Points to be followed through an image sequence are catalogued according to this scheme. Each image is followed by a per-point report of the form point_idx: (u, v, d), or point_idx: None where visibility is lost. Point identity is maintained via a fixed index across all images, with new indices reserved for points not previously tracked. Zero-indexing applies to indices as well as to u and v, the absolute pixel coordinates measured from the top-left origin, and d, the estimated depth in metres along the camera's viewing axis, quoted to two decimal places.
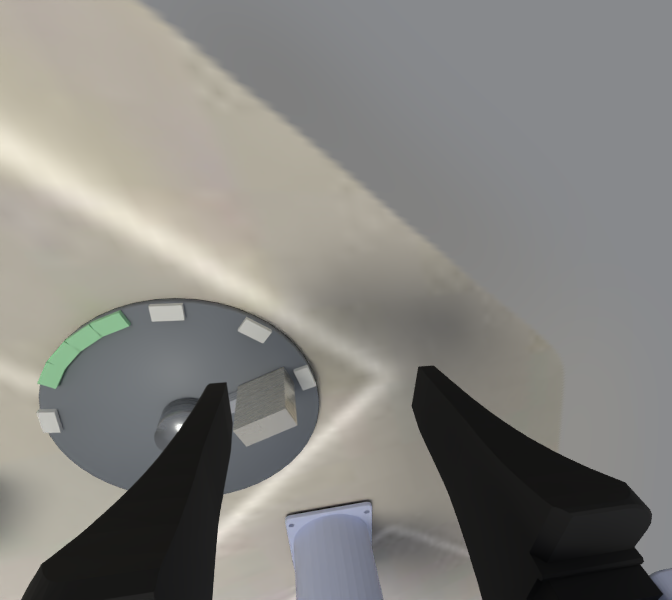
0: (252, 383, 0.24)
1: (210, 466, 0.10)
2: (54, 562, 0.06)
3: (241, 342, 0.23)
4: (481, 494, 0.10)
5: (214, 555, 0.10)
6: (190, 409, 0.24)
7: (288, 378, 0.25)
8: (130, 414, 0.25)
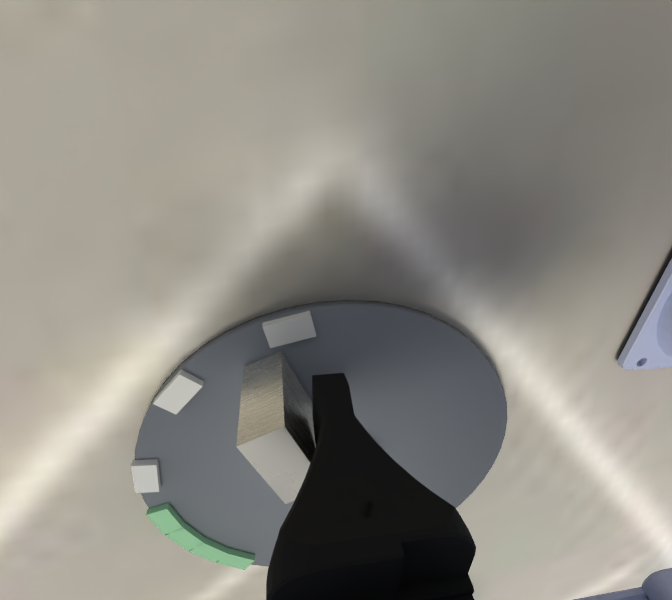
0: None
1: None
2: (293, 529, 0.07)
3: (205, 406, 0.15)
4: None
5: None
6: None
7: (259, 368, 0.14)
8: None
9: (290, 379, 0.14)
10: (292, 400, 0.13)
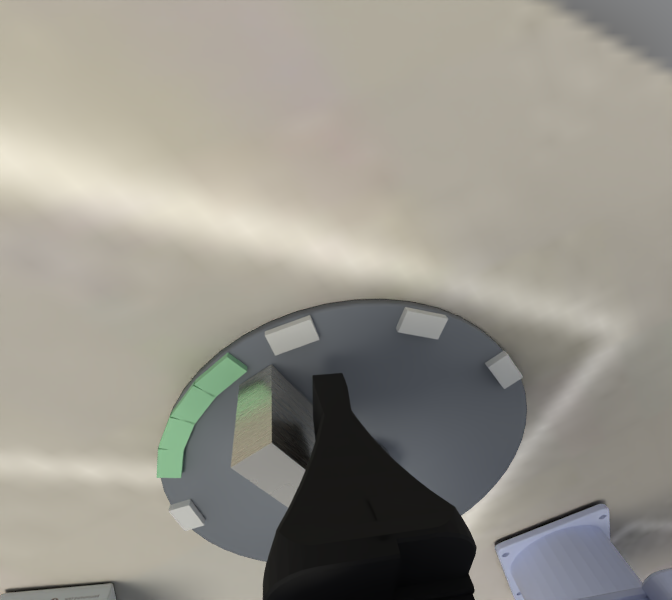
0: None
1: None
2: (290, 529, 0.07)
3: (404, 347, 0.15)
4: None
5: None
6: None
7: (252, 384, 0.14)
8: None
9: (283, 391, 0.14)
10: (285, 411, 0.13)
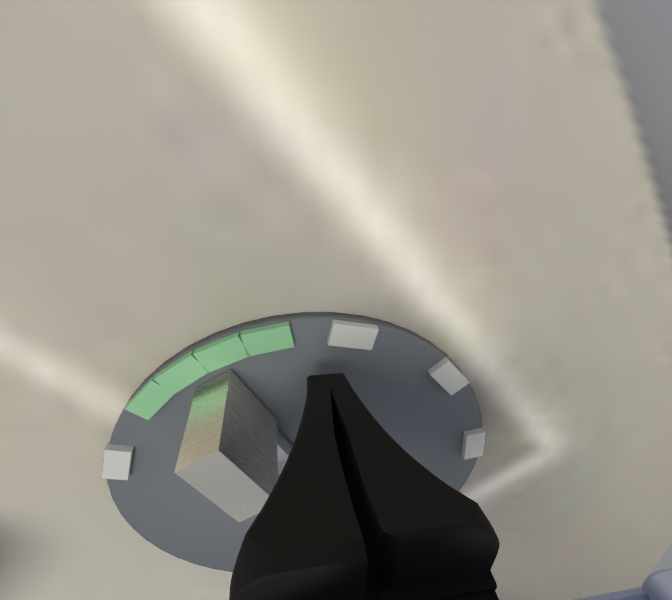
0: None
1: None
2: (258, 534, 0.07)
3: (421, 389, 0.17)
4: (356, 511, 0.10)
5: None
6: None
7: (208, 388, 0.14)
8: None
9: (240, 397, 0.14)
10: (238, 419, 0.13)
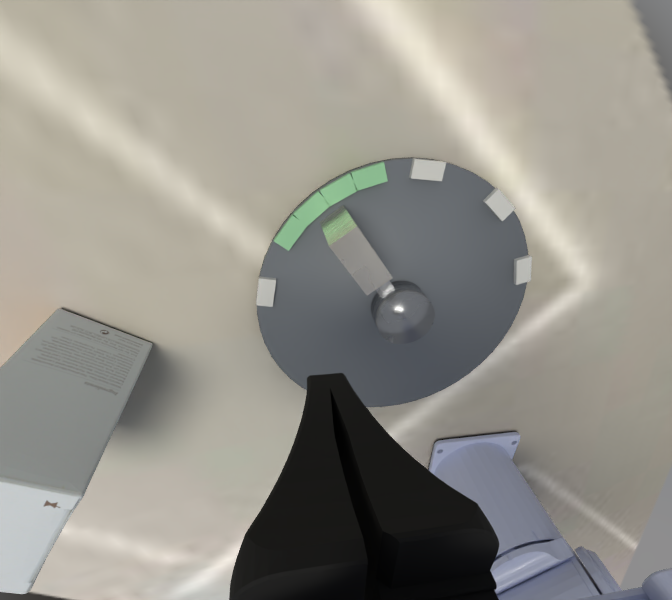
0: None
1: None
2: (258, 534, 0.07)
3: (479, 219, 0.22)
4: (356, 511, 0.10)
5: None
6: (375, 312, 0.23)
7: (331, 217, 0.20)
8: (343, 294, 0.23)
9: (353, 220, 0.20)
10: None
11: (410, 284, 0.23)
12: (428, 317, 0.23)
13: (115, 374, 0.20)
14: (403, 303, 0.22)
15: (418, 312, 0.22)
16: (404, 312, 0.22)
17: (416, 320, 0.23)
